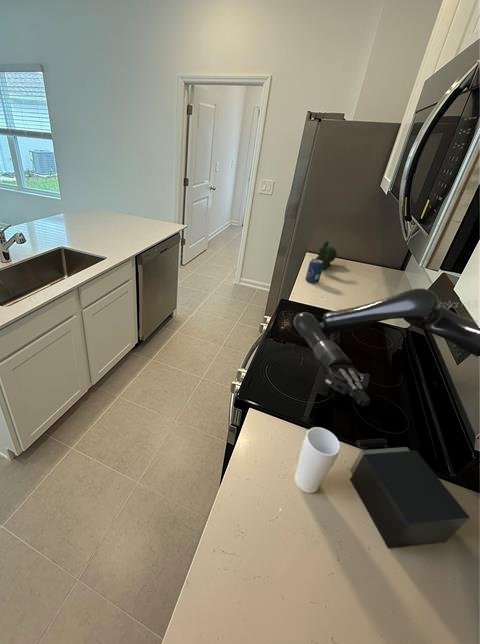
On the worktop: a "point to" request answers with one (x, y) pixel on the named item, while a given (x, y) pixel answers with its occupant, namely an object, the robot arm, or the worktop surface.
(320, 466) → the drinking glass
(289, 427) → the worktop surface
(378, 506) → the cabinet
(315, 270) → the soda can
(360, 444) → the drawer
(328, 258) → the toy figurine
